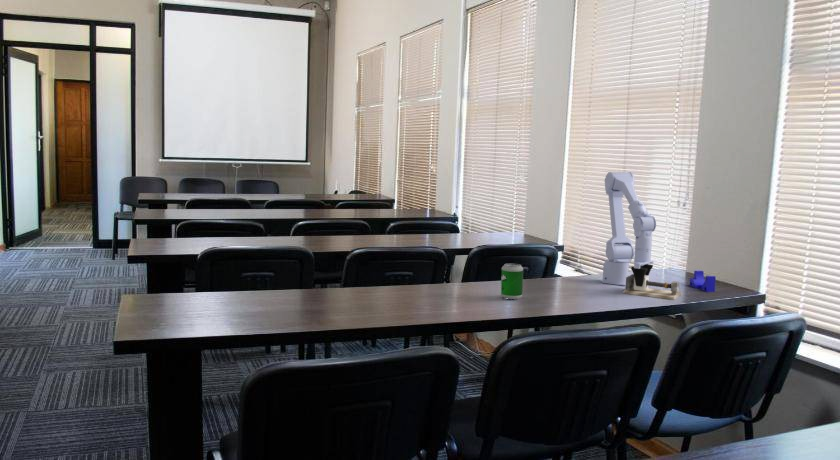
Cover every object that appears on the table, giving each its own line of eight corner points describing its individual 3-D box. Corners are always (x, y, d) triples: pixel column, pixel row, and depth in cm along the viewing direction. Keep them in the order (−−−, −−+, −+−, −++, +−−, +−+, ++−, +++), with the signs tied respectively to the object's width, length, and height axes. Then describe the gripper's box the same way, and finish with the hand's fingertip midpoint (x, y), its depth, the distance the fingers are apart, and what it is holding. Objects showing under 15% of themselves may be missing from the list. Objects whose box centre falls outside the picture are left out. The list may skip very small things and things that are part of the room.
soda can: (524, 297, 234) (525, 264, 232) (518, 301, 227) (519, 267, 225) (504, 295, 237) (505, 262, 235) (498, 299, 230) (498, 265, 228)
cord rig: (623, 293, 242) (624, 277, 241) (631, 288, 250) (631, 273, 249) (674, 299, 232) (675, 283, 231) (680, 294, 240) (681, 279, 239)
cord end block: (633, 289, 242) (634, 276, 241) (637, 287, 246) (638, 274, 245) (644, 291, 240) (645, 277, 239) (648, 288, 244) (649, 275, 243)
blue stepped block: (689, 285, 257) (690, 270, 256) (700, 285, 257) (701, 270, 256) (702, 292, 245) (703, 276, 245) (714, 292, 245) (715, 276, 245)
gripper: (648, 252, 233) (646, 289, 234) (659, 247, 245) (657, 282, 246) (629, 250, 237) (627, 287, 238) (640, 245, 248) (638, 280, 250)
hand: (641, 284), depth 243 cm, fingers closed on cord end block, 5 cm apart
